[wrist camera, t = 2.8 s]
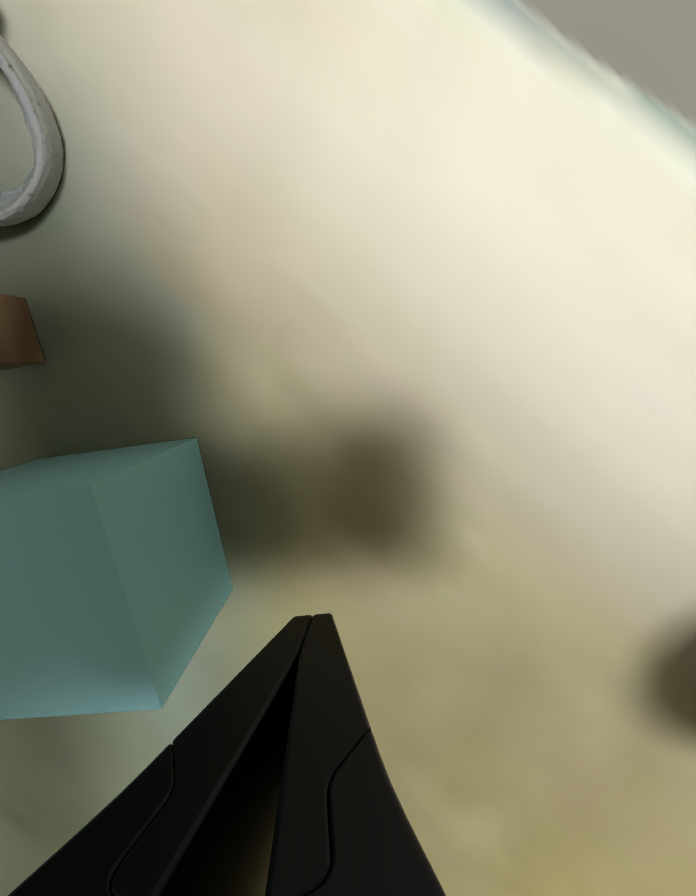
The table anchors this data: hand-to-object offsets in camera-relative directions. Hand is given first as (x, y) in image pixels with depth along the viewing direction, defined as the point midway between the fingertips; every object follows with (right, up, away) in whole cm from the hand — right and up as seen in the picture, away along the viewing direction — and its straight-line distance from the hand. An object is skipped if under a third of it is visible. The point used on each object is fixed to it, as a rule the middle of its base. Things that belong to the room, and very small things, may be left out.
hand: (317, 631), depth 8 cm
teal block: (-8, +1, +8) cm, 12 cm away
